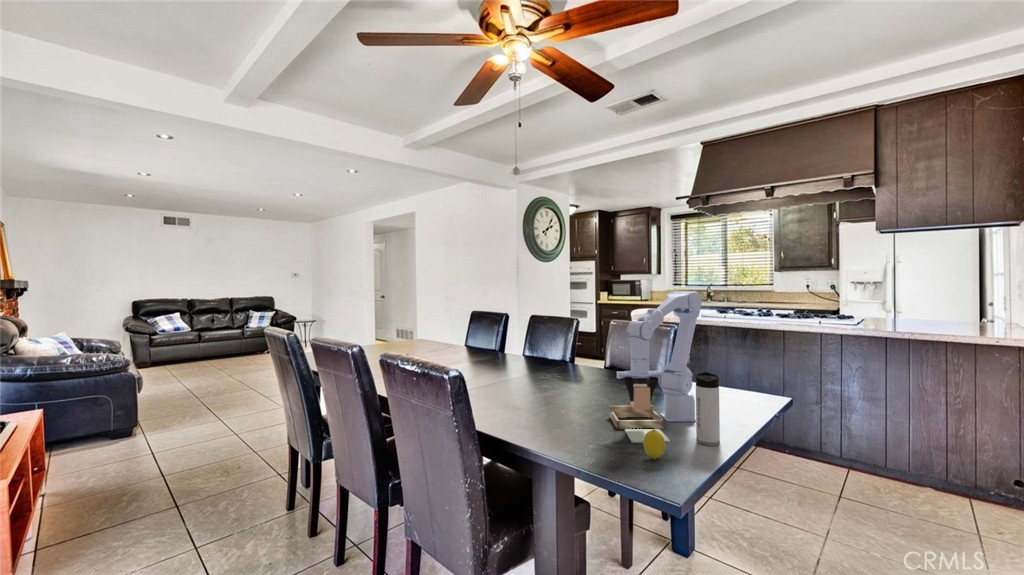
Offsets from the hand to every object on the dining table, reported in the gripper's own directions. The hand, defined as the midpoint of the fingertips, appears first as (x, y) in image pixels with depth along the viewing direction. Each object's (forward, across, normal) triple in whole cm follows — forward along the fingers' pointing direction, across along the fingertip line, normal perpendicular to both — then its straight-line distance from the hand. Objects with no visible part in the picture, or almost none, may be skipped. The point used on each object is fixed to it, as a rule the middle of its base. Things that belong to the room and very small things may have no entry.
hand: (640, 400), depth 140 cm
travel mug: (+9, +17, -11) cm, 22 cm away
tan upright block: (+2, 0, 0) cm, 2 cm away
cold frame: (+9, 0, +7) cm, 11 cm away
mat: (+9, 0, -6) cm, 11 cm away
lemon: (+10, -2, -23) cm, 25 cm away
